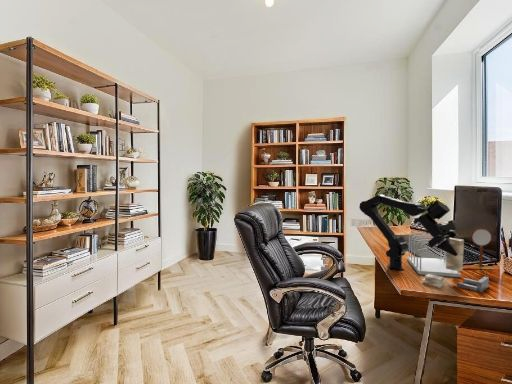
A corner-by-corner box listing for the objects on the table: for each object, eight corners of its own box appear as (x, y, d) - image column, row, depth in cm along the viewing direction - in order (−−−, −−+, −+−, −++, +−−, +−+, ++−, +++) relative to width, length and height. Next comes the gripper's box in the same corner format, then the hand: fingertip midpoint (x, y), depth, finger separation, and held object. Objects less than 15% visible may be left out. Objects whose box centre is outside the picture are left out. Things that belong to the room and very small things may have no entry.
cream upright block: (445, 268, 130) (447, 238, 130) (449, 266, 133) (450, 237, 132) (459, 271, 126) (460, 240, 126) (462, 269, 129) (463, 239, 128)
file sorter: (461, 278, 135) (462, 244, 134) (418, 275, 140) (419, 242, 139) (442, 261, 160) (443, 232, 159) (406, 260, 164) (407, 231, 163)
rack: (456, 286, 125) (457, 277, 125) (464, 281, 131) (464, 272, 130) (481, 292, 118) (481, 282, 118) (488, 286, 124) (488, 277, 124)
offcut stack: (422, 283, 130) (422, 275, 129) (426, 281, 133) (427, 273, 133) (440, 288, 124) (440, 279, 124) (444, 285, 128) (444, 276, 127)
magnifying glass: (471, 268, 147) (472, 228, 146) (469, 267, 149) (470, 227, 147) (491, 269, 145) (492, 228, 144) (489, 268, 146) (491, 228, 145)
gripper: (436, 216, 125) (466, 247, 117) (453, 212, 137) (482, 240, 129) (416, 232, 132) (444, 262, 124) (434, 227, 144) (460, 254, 136)
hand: (458, 254), depth 128 cm, fingers closed on cream upright block, 4 cm apart
